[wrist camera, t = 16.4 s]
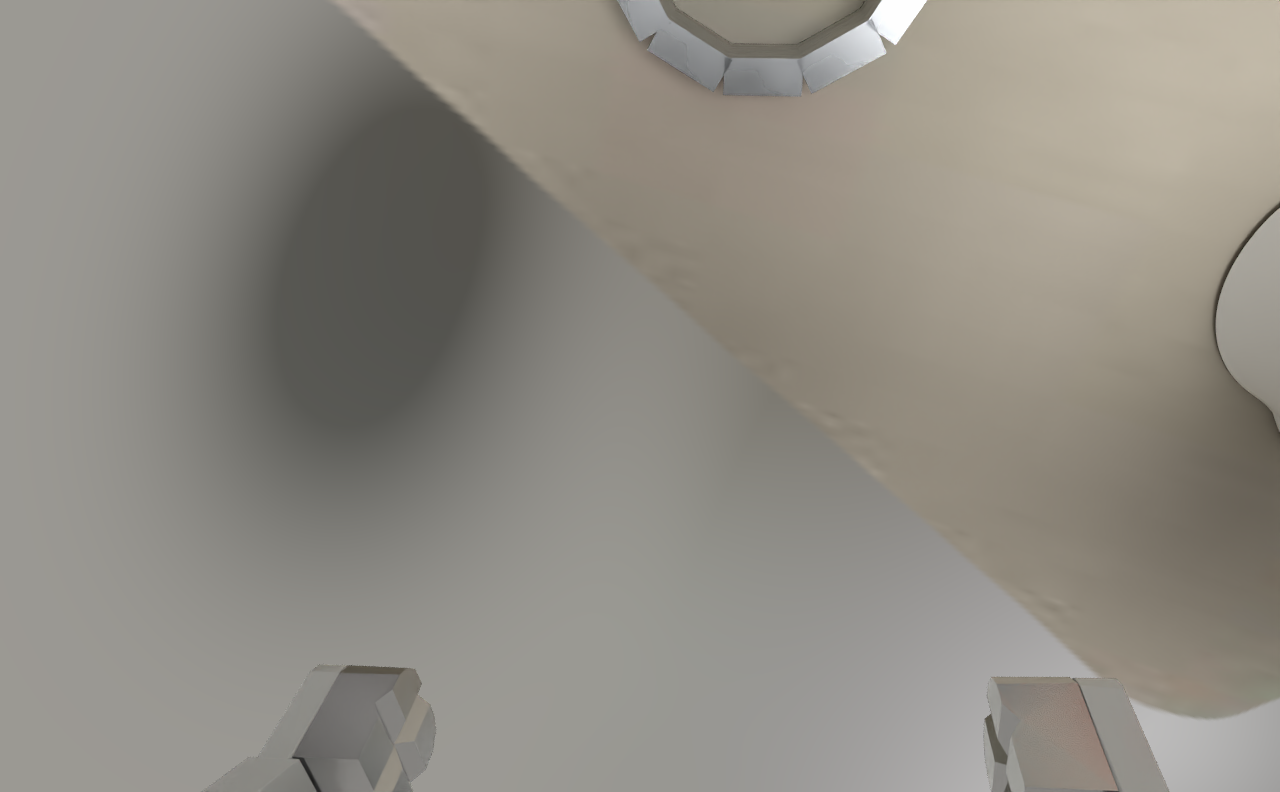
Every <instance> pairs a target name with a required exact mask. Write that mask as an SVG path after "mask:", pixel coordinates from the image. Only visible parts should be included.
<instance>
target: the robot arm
mask: <svg viewBox="0 0 1280 792" xmlns="http://www.w3.org/2000/svg"><path fill="white" fill-rule="evenodd" d="M1216 337H1217V343H1218V348H1219V351H1220V354H1221V357H1222V359H1223V361H1224V364H1225V365H1226V367H1227V369H1228V370H1229V372H1230V373H1231V375H1232V376H1233V377H1234V379H1235V380H1236V381H1237V382H1238V383H1239V384H1240V385H1241V386H1242V387H1243V388H1244V389H1246V390H1247V391H1248V392H1249V393H1251V394H1252V395H1254V396H1255V397H1256V398H1258V399H1259V400H1260V401H1262V402H1263V403H1264V404H1265V405H1266V406H1267V407H1268V408H1269V409H1270V410H1271V411H1272V412H1273V415H1274V419H1275V421H1276V424H1277V427H1278V430H1279V432H1280V208H1279V209H1278V210H1277V211H1276V212H1274V213H1273V214H1272V215H1271V216H1270V217H1269V218H1268V219H1267V220H1266V221H1265V222H1264V223H1263V225H1262V226H1261V227H1260V228H1259V229H1258V230H1257V231H1256V232H1255V234H1254V235H1253V236H1252V237H1251V239H1250V240H1249V241H1248V242H1247V244H1246V245H1245V247H1244V248H1243V250H1242V251H1241V252H1240V254H1239V256H1238V257H1237V259H1236V261H1235V262H1234V264H1233V266H1232V268H1231V270H1230V272H1229V274H1228V276H1227V278H1226V280H1225V283H1224V286H1223V288H1222V291H1221V294H1220V298H1219V302H1218V307H1217V313H1216ZM421 685H422V683H421V681H420V678H419V676H418V674H417V672H416V670H415V669H412V668H397V667H396V668H395V667H376V666H352V665H320V664H319V665H318V666H317V667H315V668H314V669H313V670H312V671H310V672H309V673H308V675H307V677H306V678H305V680H304V682H303V683H302V685H301V686H300V688H299V690H298V691H297V693H296V695H295V697H294V698H293V700H292V701H291V703H290V705H289V706H288V708H287V709H286V711H285V713H284V714H283V716H282V718H281V719H280V721H279V723H278V724H277V726H276V727H275V729H274V731H273V733H272V734H271V736H270V737H269V739H268V741H267V742H266V744H265V745H264V747H263V749H262V750H261V752H260V754H259V756H258V757H248V758H247V759H245V760H244V761H243V762H241V763H240V764H238V765H237V766H236V767H235V768H233V769H232V770H230V771H229V772H228V773H226V774H225V775H223V776H222V777H221V778H219V779H218V780H217V781H216V782H214V783H213V784H211V785H210V786H209V787H207V788H206V789H205V790H203V791H202V792H413V789H412V786H411V782H412V781H413V780H414V779H415V778H416V777H418V776H419V775H420V774H421V773H422V772H423V771H424V770H426V768H427V765H428V763H429V760H430V758H431V755H432V752H433V748H434V740H435V734H436V726H435V717H434V713H433V711H432V708H431V705H430V704H429V703H428V702H427V701H425V700H424V699H423V698H422V697H420V696H419V695H418V692H419V690H420V687H421ZM987 698H988V702H989V707H990V711H991V714H990V715H989V716H987V717H986V718H985V721H984V755H985V763H986V768H987V774H988V779H989V784H990V788H991V792H1169V789H1168V787H1167V785H1166V783H1165V780H1164V778H1163V776H1162V774H1161V771H1160V769H1159V767H1158V765H1157V762H1156V760H1155V758H1154V755H1153V753H1152V751H1151V749H1150V746H1149V744H1148V742H1147V739H1146V737H1145V735H1144V733H1143V730H1142V728H1141V726H1140V724H1139V721H1138V719H1137V717H1136V714H1135V712H1134V710H1133V708H1132V705H1131V703H1130V701H1129V698H1128V696H1127V694H1126V692H1125V689H1124V687H1123V685H1122V684H1121V683H1120V682H1119V681H1118V680H1117V679H1107V678H1073V679H1071V678H1070V677H991V678H990V681H989V683H988V691H987Z"/></svg>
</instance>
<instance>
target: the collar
mask: <svg viewBox="0 0 1280 792" xmlns="http://www.w3.org/2000/svg"><path fill="white" fill-rule="evenodd" d="M617 1H618V3H619V5H620V6H621V8H622V10H623V12H624V14H625V16H626V18H627V19H628V21H629V23H630V25H631V27H632V29H633V31H634V32H635V34H636V36H637V38H638V40H639V42H641V41H642V40H644V39H646V38H647V37H649V36H650V35H652V34H654V33H655V32H656V34H655V36H654V38H653V40H652V42H651V44H650V45H649V47H648V49H647V50H648V51H649V52H651V53H652V54H654V55H656V56H657V57H659V58H660V59H662V60H664V61H665V62H667V63H668V64H670V65H671V66H673V67H675V68H676V69H678V70H679V71H681V72H683V73H684V74H686V75H687V76H689V77H690V78H692V79H694V80H695V81H697V82H698V83H700V84H701V85H703V86H705V87H706V88H708V89H709V90H711V91H713V92H714V90H715V89H716V87H717V85H718V84H719V82H720V80H721V79H722V77H723V75H724V87H723V95H752V96H801V93H802V82H803V76H804V79H805V81H806V83H807V85H808V87H809V89H810V92H811V94H812V93H814V92H816V91H818V90H820V89H821V88H823V87H825V86H827V85H829V84H831V83H832V82H834V81H836V80H838V79H840V78H842V77H843V76H845V75H847V74H849V73H851V72H853V71H854V70H856V69H858V68H860V67H862V66H864V65H866V64H867V63H869V62H871V61H873V60H875V59H877V58H878V57H880V56H882V55H884V54H886V50H885V48H884V45H883V43H882V41H881V38H880V36H879V34H880V35H881V36H883V37H884V38H886V39H887V40H889V41H890V42H892V43H893V44H895V45H896V44H897V42H898V41H899V39H900V38H901V37H902V35H903V34H904V32H905V31H906V29H907V28H908V27H909V25H910V24H911V22H912V21H913V19H914V18H915V17H916V15H917V14H918V12H919V11H920V9H921V8H922V7H923V5H924V4H925V2H926V1H927V0H865V2H864V3H863V5H862V6H861V8H860V9H859V10H857V11H855V12H854V13H852V14H850V15H848V16H847V17H845V18H843V19H841V20H840V21H838V22H836V23H834V24H833V25H831V26H829V27H827V28H825V29H824V30H822V31H820V32H818V33H817V34H815V35H813V36H811V37H810V38H808V39H806V40H804V41H803V42H801V43H799V44H732V43H730V42H728V41H727V40H725V39H724V38H722V37H721V36H719V35H718V34H716V33H715V32H713V31H711V30H710V29H708V28H707V27H705V26H704V25H702V24H701V23H699V22H698V21H696V20H694V19H693V18H691V17H690V16H688V15H687V14H685V13H684V12H682V11H681V10H679V9H677V8H676V6H675V4H674V2H673V0H617Z"/></svg>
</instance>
